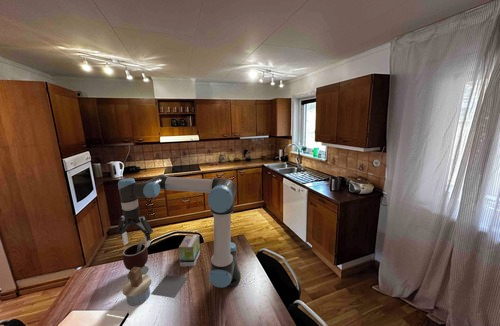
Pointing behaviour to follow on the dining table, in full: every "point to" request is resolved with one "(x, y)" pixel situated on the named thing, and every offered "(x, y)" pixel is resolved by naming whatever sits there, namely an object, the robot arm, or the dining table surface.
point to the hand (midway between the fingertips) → (137, 244)
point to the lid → (136, 282)
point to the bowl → (138, 298)
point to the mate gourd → (136, 257)
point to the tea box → (189, 250)
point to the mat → (169, 286)
